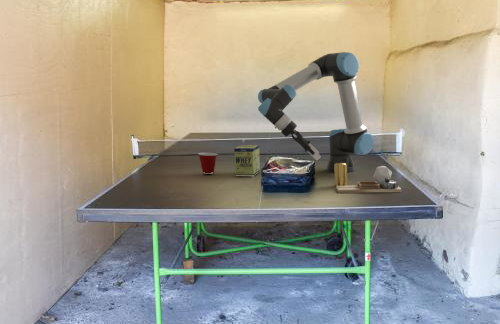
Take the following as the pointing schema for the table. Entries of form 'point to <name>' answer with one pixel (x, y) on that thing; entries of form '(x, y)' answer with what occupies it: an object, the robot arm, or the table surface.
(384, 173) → the pale rock
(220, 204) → the table surface
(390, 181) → the gear
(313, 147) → the robot arm
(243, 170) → the protein box
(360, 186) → the gear board
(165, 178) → the table surface
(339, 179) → the brass gear
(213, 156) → the plastic cup
